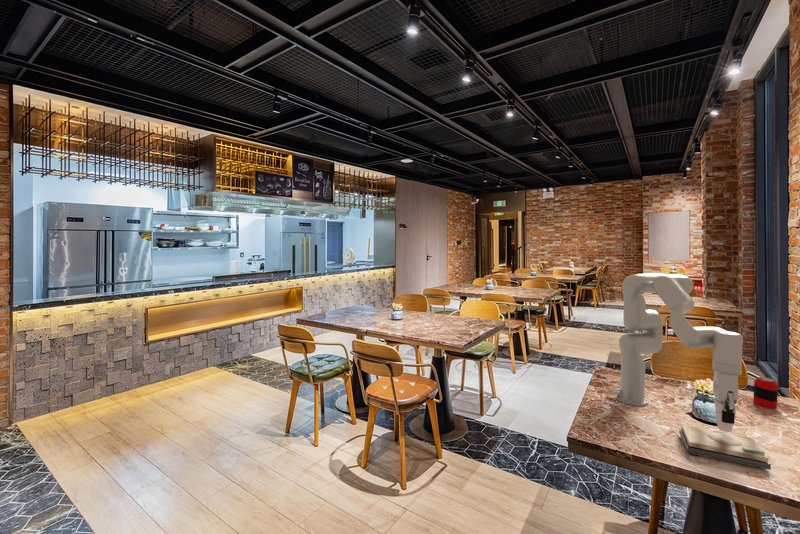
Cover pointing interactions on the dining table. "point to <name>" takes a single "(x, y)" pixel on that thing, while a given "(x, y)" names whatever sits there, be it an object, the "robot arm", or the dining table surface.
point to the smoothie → (720, 424)
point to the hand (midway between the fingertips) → (725, 418)
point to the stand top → (724, 443)
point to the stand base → (723, 455)
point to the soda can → (765, 393)
